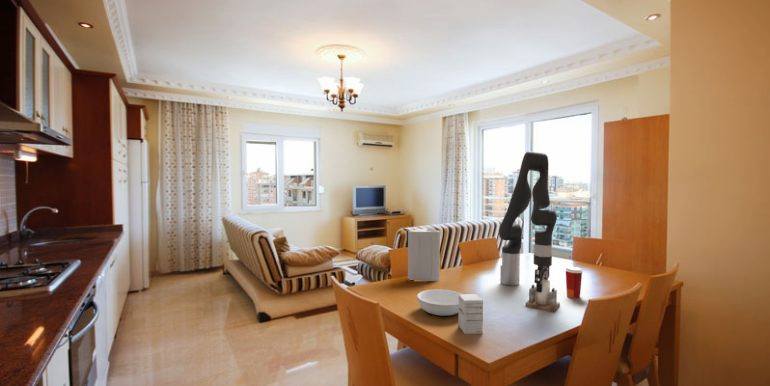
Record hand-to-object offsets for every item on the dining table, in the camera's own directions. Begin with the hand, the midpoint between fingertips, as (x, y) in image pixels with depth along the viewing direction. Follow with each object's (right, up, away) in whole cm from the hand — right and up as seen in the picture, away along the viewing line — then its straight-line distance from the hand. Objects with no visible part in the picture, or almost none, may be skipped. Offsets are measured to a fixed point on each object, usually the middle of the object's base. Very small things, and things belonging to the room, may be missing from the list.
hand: (541, 289), depth 164 cm
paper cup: (+21, -7, +13) cm, 26 cm away
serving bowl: (-46, -8, -8) cm, 48 cm away
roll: (0, -6, 0) cm, 6 cm away
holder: (0, -7, 0) cm, 7 cm away
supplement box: (-38, -8, -27) cm, 48 cm away
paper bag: (-46, -6, +46) cm, 65 cm away
